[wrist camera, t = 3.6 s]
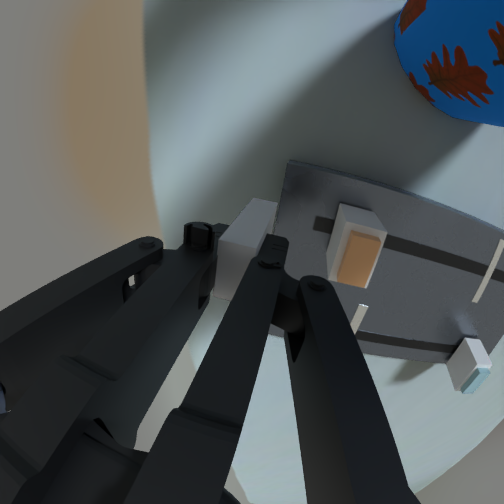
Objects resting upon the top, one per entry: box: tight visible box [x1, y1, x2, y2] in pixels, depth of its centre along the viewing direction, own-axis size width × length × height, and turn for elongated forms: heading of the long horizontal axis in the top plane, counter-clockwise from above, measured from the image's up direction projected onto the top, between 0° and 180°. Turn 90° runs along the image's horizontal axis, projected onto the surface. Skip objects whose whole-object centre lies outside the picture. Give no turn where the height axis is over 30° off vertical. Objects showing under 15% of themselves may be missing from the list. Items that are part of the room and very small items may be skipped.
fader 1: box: [326, 203, 387, 288], centre depth 16 cm, size 4×2×4 cm, turn 171°
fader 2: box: [446, 338, 492, 394], centre depth 17 cm, size 4×2×4 cm, turn 171°
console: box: [268, 160, 504, 363], centre depth 19 cm, size 15×26×2 cm, turn 81°
